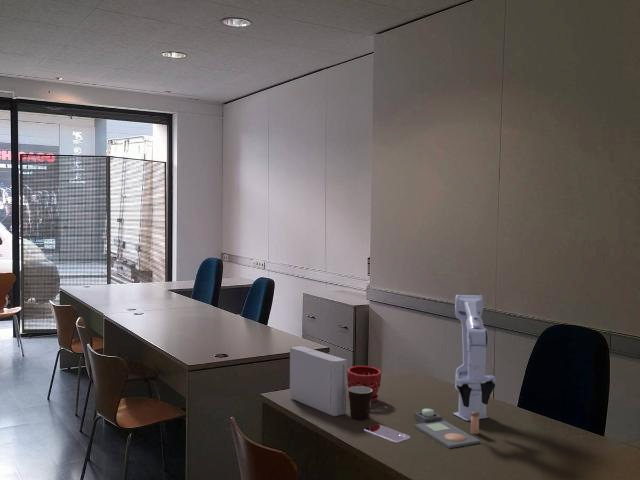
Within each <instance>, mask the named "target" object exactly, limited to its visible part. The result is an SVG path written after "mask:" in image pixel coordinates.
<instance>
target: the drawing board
mask: <svg viewBox="0 0 640 480" xmlns="http://www.w3.org/2000/svg"><path fill="white" fill-rule="evenodd" d="M414 427H415V428H416V429H417V430H419V431H420V432H422V433H424V434H426V435H427V436H429V437H430V438H431V439H433V440H435V441H436V442H438V443H440V444H442V445H443V446H444V447H446V448H447V449H453V448H458V447H464V446H465V447H466V446H470V445H475V444H480V443H481V440H480V439H479V438H477V437H474V435H471V434H470V433H468V432H465V431H464V430H462V429H461V428H458V427H457V426H455V425H453V424H452V423H449V422H448V421H446V420H443V419H442V421H435V422H428V423H421V422H420V423H418V424H417V423H416V424H414Z"/></svg>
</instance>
